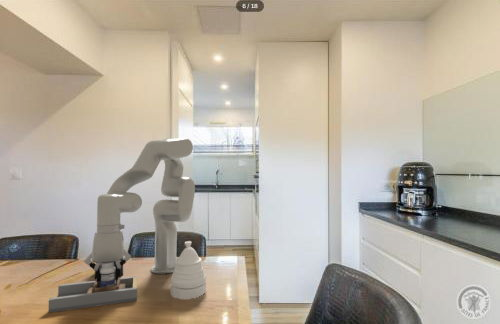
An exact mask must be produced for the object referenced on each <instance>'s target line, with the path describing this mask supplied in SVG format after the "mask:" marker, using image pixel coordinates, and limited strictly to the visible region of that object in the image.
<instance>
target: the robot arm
mask: <svg viewBox="0 0 500 324" xmlns="http://www.w3.org/2000/svg"><path fill="white" fill-rule="evenodd" d="M193 149H194V146H193V143H192V141H191V140H190V139H189V138H186V137H180V138H179V137H175V138H174V137H173V138H172V137H171V138H163V139H161V140H157V139H156V140H150V141H148V142H147V143H146V144H145V146H144V148H143V149H142V151H141V152H140V154H139V156H138V158H137V159H136V161H135V162H134V165H133V166H132V167H131V168H129V169H128V170H127V171H124V173H122V174H121V175H120V176H119V177H117V179H116V180H114V182H113V183H112V185H111V186H110V188H109V189H108V190H107V192H106V194H104V193H103V194H100V195H99V196H97V203H96V204H97V207H96V208H97V209H96V210H97V211H96V212H97V213H96V216H97V217H96V232H95V233H94V236H93V241H92V250H91V252H90V254H89V255H88V256H87V257H86V258H85V259H84V263H85V264H86V265H87V266H89V268H91V269H92V270H93V271H94V280H96V281H97V282H99V274H100V268H99V265H100V262H111V261H115V262H116V265H117V267H116V280H118V278H121V276H120V271H121V267H122V266H123V267H124V265H125V264H126V263H127V262H128V261H129V260H130V259H131V256H132V255H131V254H130V253H129V252H128V251H126V249H125V241H124V240H125V239H124V232H123V231H122V230H124V229H125V227H126V226H125V224H122V223H121V214H122V213H134V212H136V211H138V210H139V209H140V208H141V207H142V205H143V204H142V203H143V200H142V197H141V196H140V194H137V193H136V192H128V191H129V190H130V189H131V188H133V187H134V186H136V185H138V184H140V183H143V182H145V181H147V180H149V179H151V178H152V177H153V176H154V174H155V171H156V169H157V168H158V166H159V164H160V163H161V161H163V162H164V170H163V171H164V173H163V177H162V182H161V188H160V191H161V194H162V195H163V196H165V197H170V198H178V199H177V200H175V199H161V200H158V201H156V203H155V204H154V205H153V209H152V214H153V218H154V219H153V220H154V229H155V230H154V234H155V235H154V265H152V266H151V267H150V271H151V272H152V274H157V275H159V274H160V275H166V273H167V274H173V273H174V269H175V267H176V264H175V260H176V259H177V258H178V257H177V246H178V245H177V242H178V237H177V236H178V235H177V233H178V231H177V230H178V229H177V225H176V223H175V222H177V223H184V222H187V221H188V220H189V219H190V217H191V214H192V210H193V207H194V205H193V204H194V199H195V195H196V194H195V193H196V185H195V181H194V180H193V179H192V177H191V178H190V177H188V176H183V174H184V164H183V162H182V160H181V159H182V158H186V157H189V156H190V155H191V154H192V153H193ZM124 257H125V258H124ZM121 259H123V260H122V261H120V260H121ZM177 262H178V261H177Z"/></svg>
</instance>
